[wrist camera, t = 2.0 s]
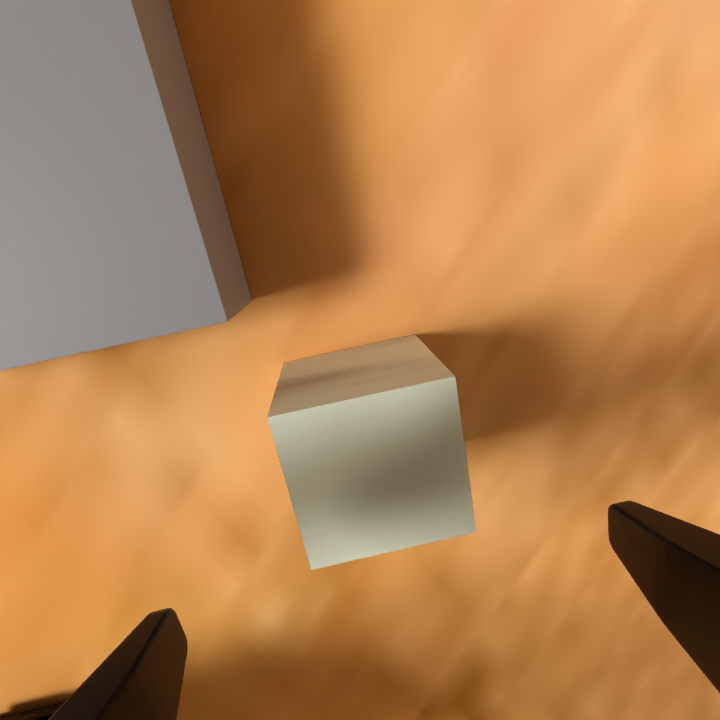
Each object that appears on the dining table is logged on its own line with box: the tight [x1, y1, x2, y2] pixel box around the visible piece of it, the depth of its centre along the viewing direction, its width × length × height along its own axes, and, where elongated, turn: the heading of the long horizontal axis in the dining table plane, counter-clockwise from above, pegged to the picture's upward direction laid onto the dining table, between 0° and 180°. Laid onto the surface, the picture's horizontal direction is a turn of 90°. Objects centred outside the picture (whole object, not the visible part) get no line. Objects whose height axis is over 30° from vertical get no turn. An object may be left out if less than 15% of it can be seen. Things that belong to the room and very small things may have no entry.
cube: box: [267, 334, 476, 570], centre depth 14 cm, size 5×5×5 cm
